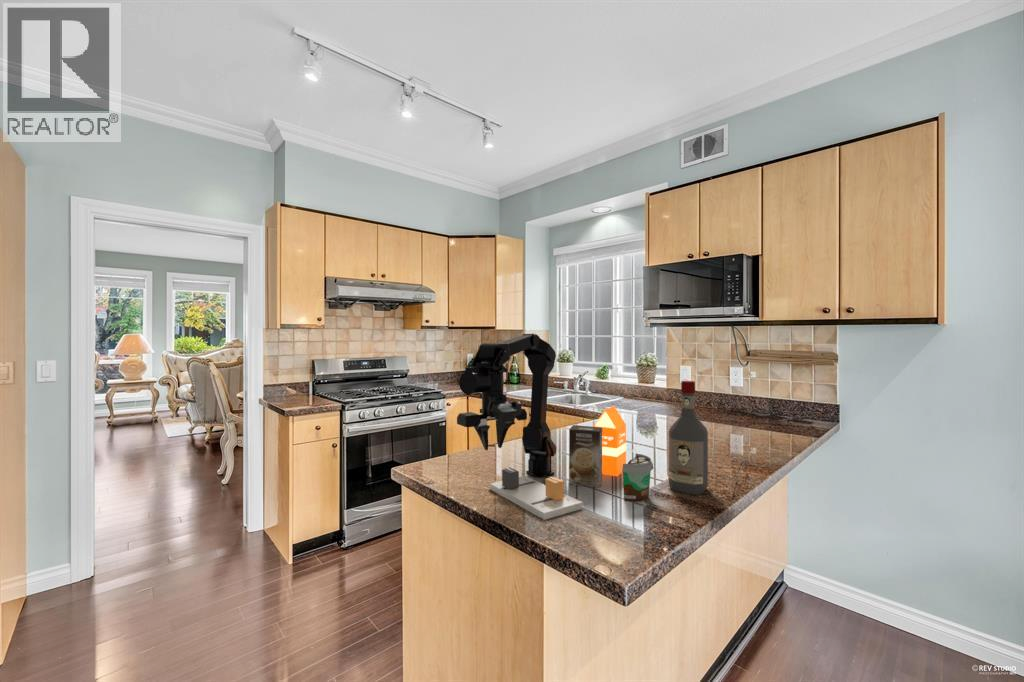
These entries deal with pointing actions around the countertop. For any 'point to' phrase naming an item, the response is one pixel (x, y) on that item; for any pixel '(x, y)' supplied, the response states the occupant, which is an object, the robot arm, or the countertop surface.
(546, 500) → the panel
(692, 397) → the liquor
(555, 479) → the orange fader
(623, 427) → the orange juice
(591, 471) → the coffee box
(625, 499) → the food container
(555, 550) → the countertop surface
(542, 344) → the robot arm
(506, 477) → the block
